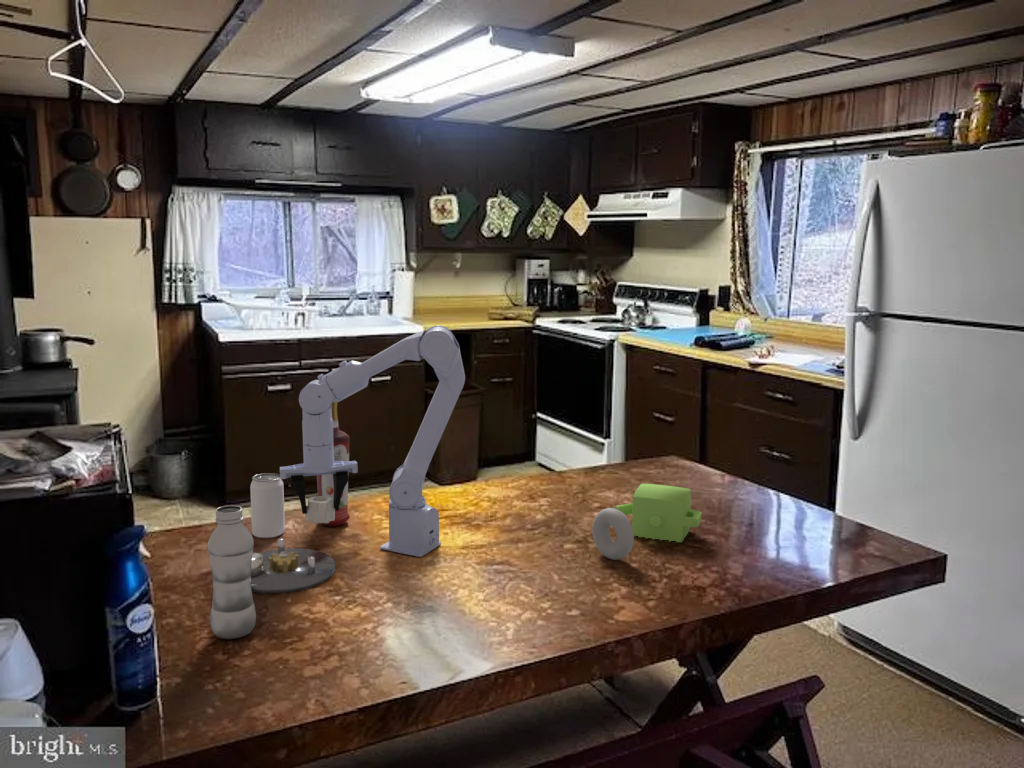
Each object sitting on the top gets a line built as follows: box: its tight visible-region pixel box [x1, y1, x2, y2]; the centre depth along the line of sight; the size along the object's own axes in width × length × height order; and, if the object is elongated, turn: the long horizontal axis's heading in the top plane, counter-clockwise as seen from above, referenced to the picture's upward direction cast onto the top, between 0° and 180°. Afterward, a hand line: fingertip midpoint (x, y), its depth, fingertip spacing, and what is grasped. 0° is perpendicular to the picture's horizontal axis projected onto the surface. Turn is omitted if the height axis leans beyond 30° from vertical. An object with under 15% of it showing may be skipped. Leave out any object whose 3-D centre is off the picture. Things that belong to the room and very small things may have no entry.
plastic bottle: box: [207, 504, 257, 640], centre depth 123 cm, size 6×7×20 cm
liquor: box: [316, 402, 351, 528], centre depth 171 cm, size 7×7×28 cm
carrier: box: [250, 537, 336, 594], centre depth 147 cm, size 19×20×4 cm
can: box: [249, 472, 286, 540], centre depth 166 cm, size 6×6×12 cm
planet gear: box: [304, 495, 335, 525], centre depth 159 cm, size 5×5×4 cm
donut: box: [591, 507, 635, 561], centre depth 157 cm, size 10×4×10 cm, turn 37°
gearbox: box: [613, 483, 703, 543], centre depth 170 cm, size 18×10×10 cm, turn 67°
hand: (320, 510), depth 159 cm, fingers closed on planet gear, 5 cm apart
